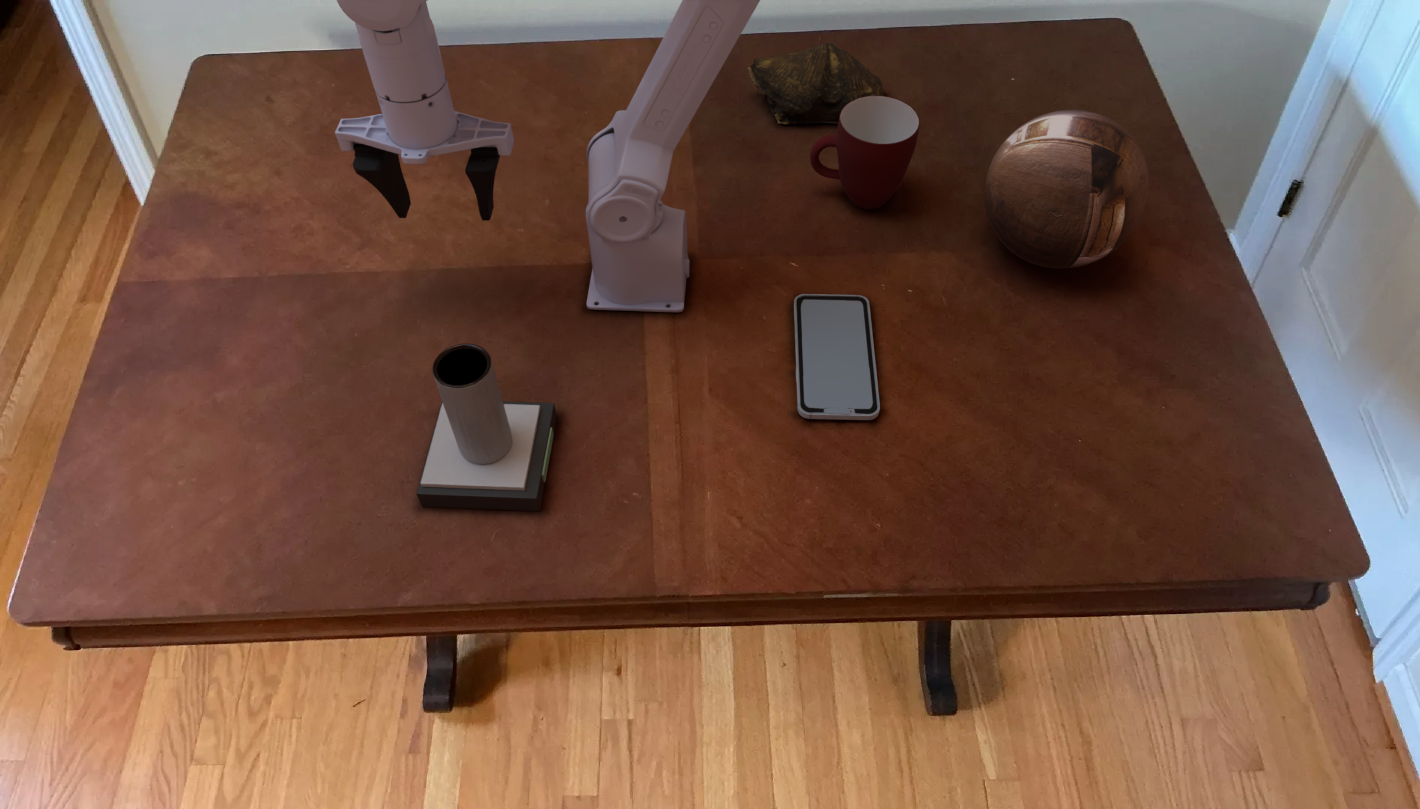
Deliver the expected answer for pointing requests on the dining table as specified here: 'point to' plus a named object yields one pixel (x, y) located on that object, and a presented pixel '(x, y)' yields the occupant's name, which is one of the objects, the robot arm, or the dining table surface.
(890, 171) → the mug
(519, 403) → the scale
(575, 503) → the dining table surface
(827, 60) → the seashell
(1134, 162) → the shiny copper ball
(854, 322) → the smartphone
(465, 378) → the gray cylinder
